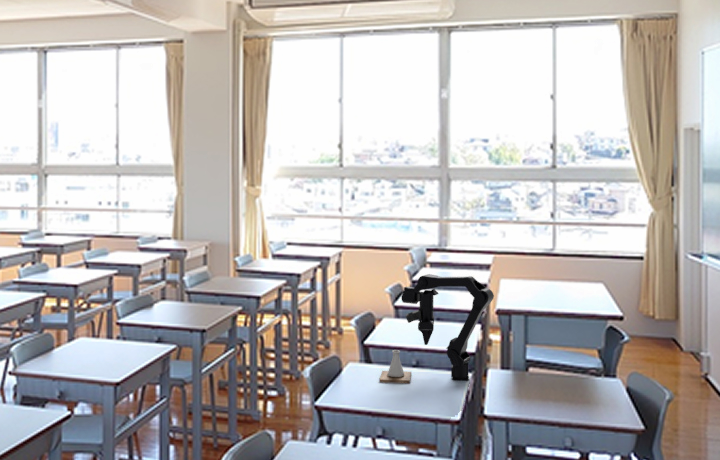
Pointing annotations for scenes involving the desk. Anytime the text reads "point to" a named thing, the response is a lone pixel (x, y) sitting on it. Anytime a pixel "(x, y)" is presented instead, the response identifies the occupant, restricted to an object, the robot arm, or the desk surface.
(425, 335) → the robot arm
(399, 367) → the flask
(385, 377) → the flat brown panel
